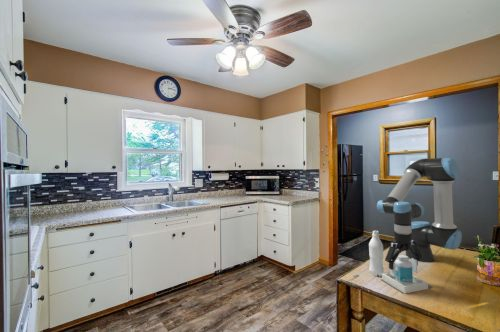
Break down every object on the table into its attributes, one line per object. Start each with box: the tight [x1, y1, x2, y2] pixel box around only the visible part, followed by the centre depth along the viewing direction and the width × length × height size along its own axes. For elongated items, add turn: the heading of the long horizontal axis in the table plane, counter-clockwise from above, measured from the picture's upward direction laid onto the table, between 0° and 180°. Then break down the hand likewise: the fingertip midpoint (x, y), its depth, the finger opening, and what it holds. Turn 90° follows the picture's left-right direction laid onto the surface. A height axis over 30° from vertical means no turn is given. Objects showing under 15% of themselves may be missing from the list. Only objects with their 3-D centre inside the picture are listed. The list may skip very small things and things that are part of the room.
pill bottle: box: [394, 254, 414, 286], centre depth 120 cm, size 8×7×14 cm
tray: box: [381, 271, 429, 294], centre depth 120 cm, size 14×14×3 cm
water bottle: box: [368, 229, 385, 278], centre depth 131 cm, size 7×7×25 cm
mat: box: [380, 279, 433, 295], centre depth 120 cm, size 18×14×1 cm
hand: (403, 273), depth 120 cm, fingers open, 13 cm apart
